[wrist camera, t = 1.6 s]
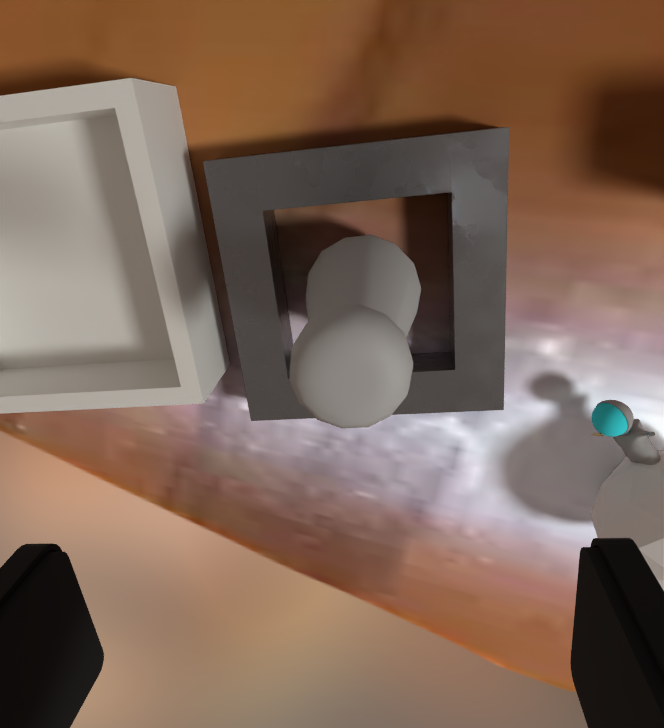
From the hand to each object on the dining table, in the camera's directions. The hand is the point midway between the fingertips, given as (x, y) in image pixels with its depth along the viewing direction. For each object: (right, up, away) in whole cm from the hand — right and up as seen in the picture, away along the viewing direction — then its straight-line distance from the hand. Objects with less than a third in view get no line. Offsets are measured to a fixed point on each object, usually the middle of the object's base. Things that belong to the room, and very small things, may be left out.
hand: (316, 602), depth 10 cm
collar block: (+2, +9, +20) cm, 22 cm away
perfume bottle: (+18, -1, +23) cm, 29 cm away
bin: (-14, +11, +21) cm, 27 cm away
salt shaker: (+2, +9, +20) cm, 22 cm away
